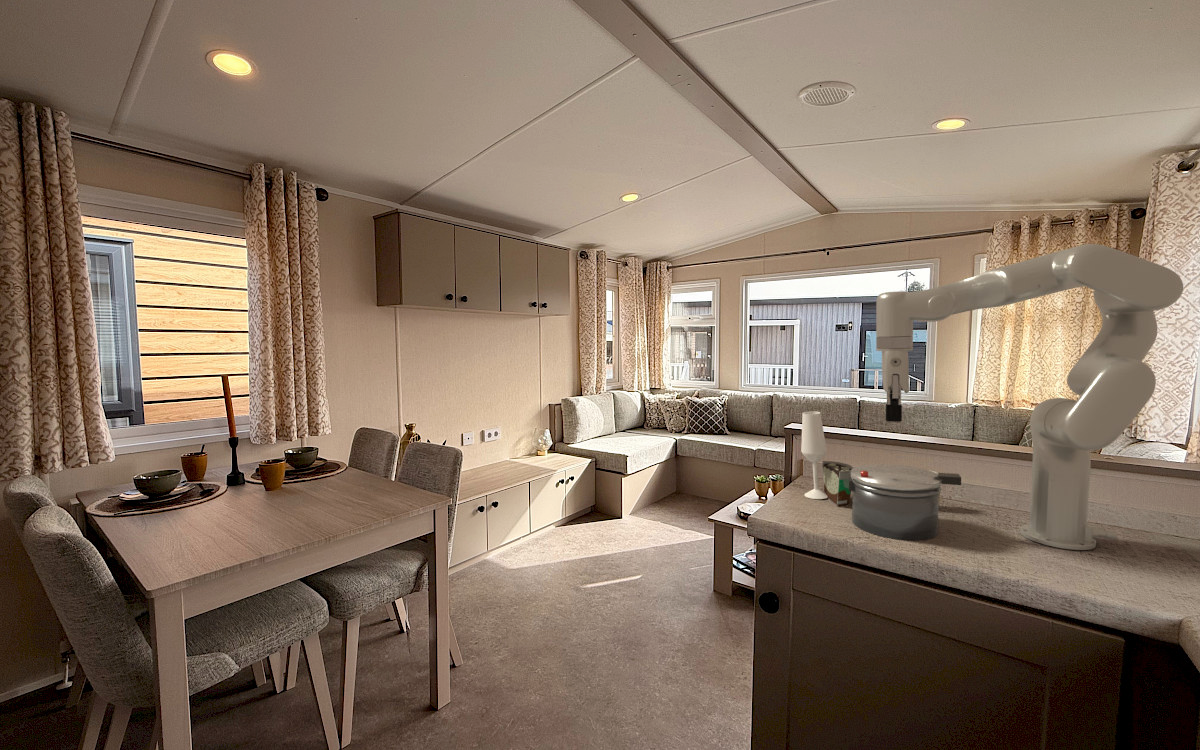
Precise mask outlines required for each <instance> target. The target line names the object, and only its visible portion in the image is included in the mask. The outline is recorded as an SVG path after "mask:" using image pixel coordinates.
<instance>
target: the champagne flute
mask: <svg viewBox="0 0 1200 750" xmlns="http://www.w3.org/2000/svg"><path fill="white" fill-rule="evenodd" d="M801 417H802V420H801V423H802V424H801V446H800V448H801V450H800V451H801V453H802V455H803V456H804V457H805V459H807V460H808V461H809V462H812V463H811V464H812V475H813V476H812V477H813V489H811V490H809V491H808V492H805V493H804V497H806V498H809V499H813V500H823V499H827V498H828V497H827V495H826V493H825V492H824V491H823V490H821V489H820V487H819V474H818V473H819V471H818V462H820V461H821V460H822V459H823V458H824V457H825V456H826V454H827V451H828V449H827V444H826V439H825V438H826V437H825V433H824V427H823V420H822V414H821V412H820V411H804V412H802V415H801Z"/></svg>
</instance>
